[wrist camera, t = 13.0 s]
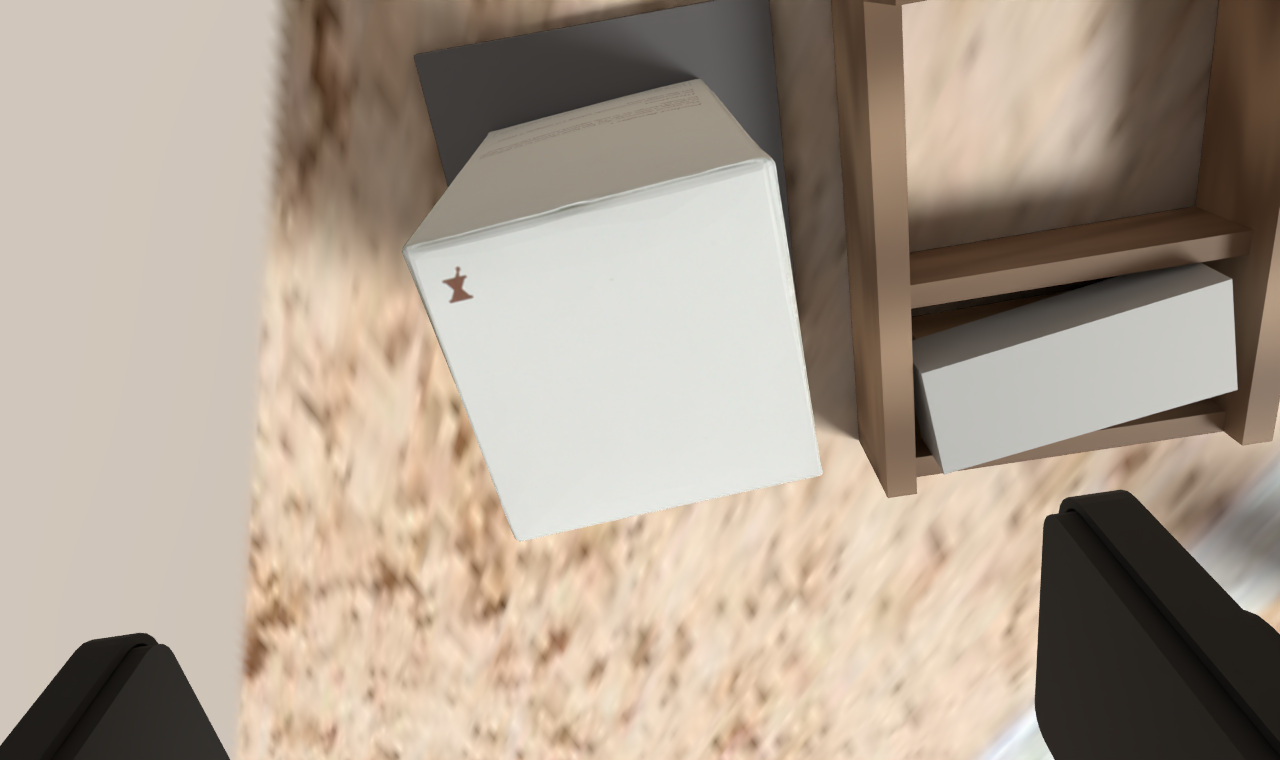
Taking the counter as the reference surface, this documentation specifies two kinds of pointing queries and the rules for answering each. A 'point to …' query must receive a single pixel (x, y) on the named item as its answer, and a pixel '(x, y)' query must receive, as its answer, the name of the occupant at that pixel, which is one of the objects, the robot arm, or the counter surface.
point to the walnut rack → (1059, 241)
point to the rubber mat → (607, 75)
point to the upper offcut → (1074, 364)
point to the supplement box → (620, 311)
